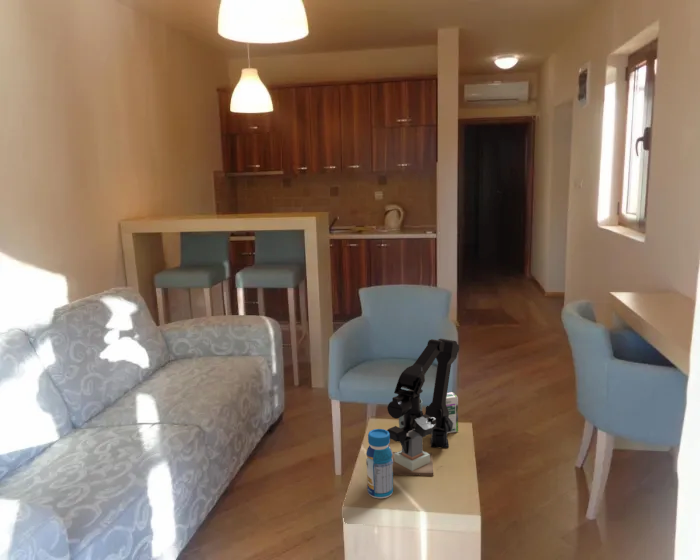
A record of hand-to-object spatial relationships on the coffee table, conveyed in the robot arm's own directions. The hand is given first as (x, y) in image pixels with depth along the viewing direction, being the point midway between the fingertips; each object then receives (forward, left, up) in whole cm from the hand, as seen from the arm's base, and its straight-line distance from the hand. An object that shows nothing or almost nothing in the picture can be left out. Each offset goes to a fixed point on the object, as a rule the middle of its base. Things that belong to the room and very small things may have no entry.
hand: (412, 450), depth 194 cm
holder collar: (0, 0, -5) cm, 5 cm away
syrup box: (-28, +14, -5) cm, 32 cm away
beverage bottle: (+18, -10, -5) cm, 21 cm away
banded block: (0, 0, -2) cm, 2 cm away
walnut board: (0, 0, -5) cm, 5 cm away
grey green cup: (-28, -1, -5) cm, 28 cm away
